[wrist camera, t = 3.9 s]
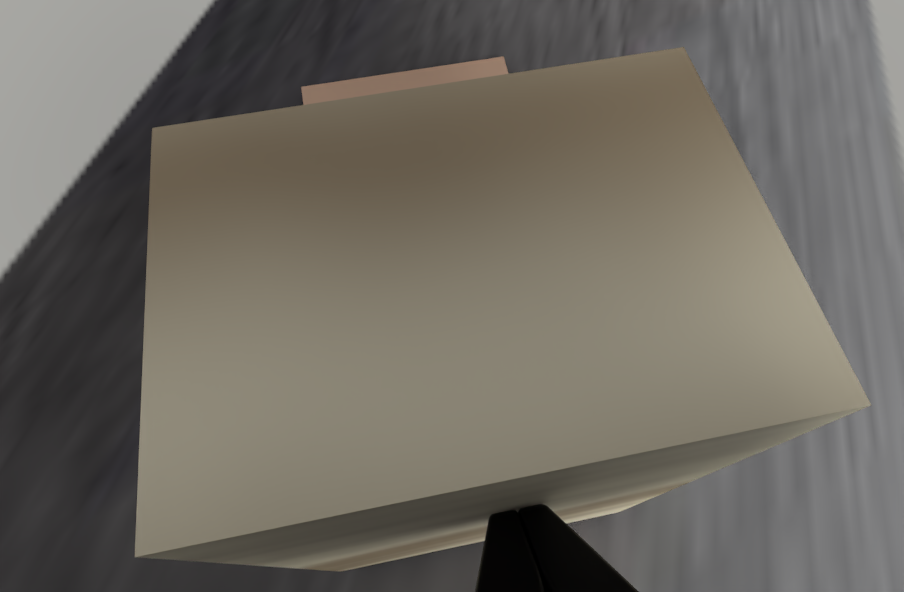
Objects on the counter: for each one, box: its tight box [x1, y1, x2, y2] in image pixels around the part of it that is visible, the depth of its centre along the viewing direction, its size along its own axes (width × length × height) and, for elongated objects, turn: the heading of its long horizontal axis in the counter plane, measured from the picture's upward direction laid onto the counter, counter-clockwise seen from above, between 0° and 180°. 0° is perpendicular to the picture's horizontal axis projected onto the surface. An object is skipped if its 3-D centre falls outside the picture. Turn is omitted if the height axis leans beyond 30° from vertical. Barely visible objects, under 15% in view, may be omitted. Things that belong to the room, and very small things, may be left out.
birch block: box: [135, 47, 871, 572], centre depth 11 cm, size 5×7×10 cm
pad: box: [301, 57, 508, 105], centre depth 18 cm, size 10×7×1 cm
